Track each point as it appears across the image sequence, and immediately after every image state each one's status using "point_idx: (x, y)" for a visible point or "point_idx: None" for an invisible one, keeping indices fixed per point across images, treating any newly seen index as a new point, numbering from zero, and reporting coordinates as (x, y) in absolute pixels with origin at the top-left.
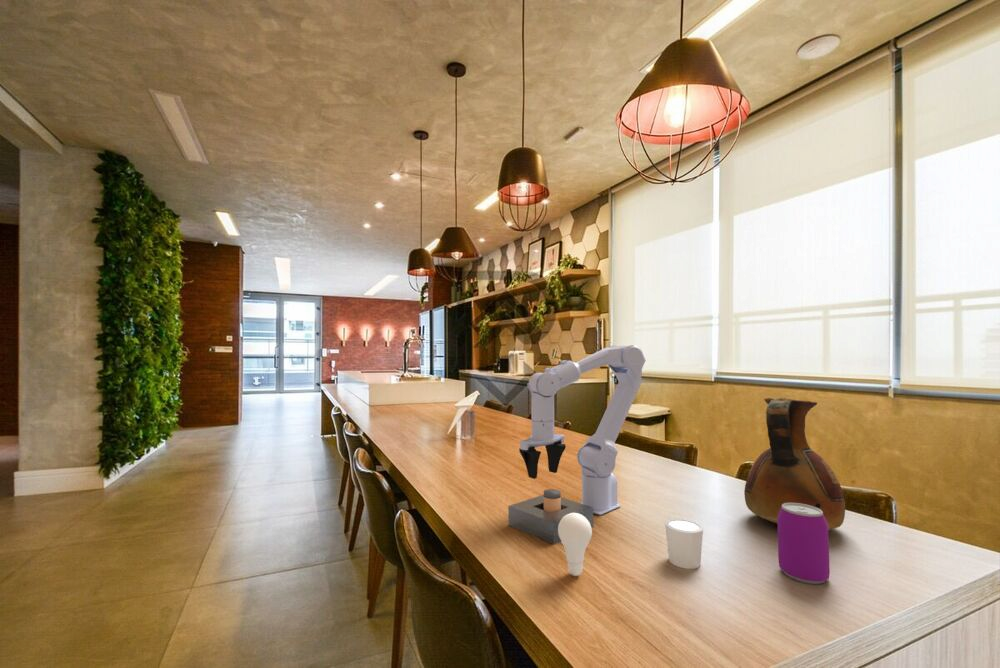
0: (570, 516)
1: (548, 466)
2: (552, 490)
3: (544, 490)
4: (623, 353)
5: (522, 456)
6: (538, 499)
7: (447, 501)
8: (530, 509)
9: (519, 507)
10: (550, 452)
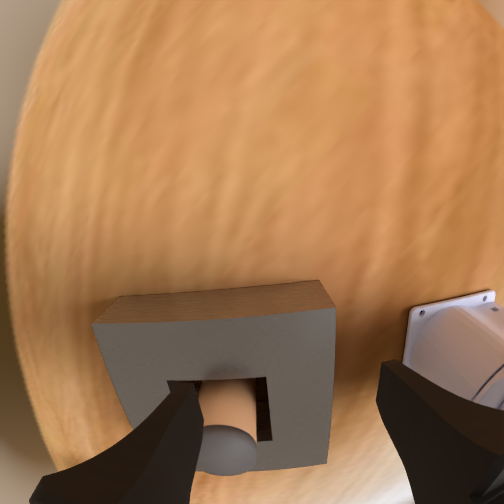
0: None
1: (395, 375)
2: (234, 451)
3: (203, 439)
4: None
5: (84, 465)
6: (236, 345)
7: (92, 7)
8: (143, 392)
9: (118, 359)
10: (440, 458)
